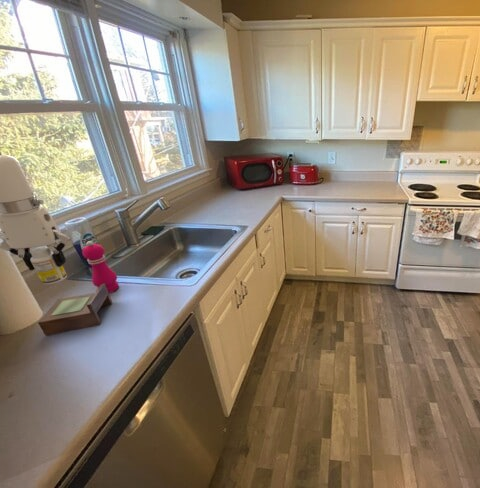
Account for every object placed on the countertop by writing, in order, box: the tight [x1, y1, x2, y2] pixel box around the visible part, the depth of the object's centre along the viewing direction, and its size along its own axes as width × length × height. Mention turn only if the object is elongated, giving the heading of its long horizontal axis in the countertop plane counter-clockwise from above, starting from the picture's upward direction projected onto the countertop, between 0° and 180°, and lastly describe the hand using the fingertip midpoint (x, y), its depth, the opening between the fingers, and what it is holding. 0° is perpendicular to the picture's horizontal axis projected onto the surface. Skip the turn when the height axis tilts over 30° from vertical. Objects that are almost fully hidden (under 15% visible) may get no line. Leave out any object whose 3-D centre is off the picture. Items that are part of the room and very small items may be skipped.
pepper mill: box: [81, 240, 120, 294], centre depth 101 cm, size 7×7×20 cm
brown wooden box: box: [37, 284, 113, 336], centre depth 89 cm, size 14×12×8 cm
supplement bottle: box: [30, 246, 68, 285], centre depth 80 cm, size 6×6×10 cm
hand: (48, 265), depth 80 cm, fingers closed on supplement bottle, 5 cm apart
